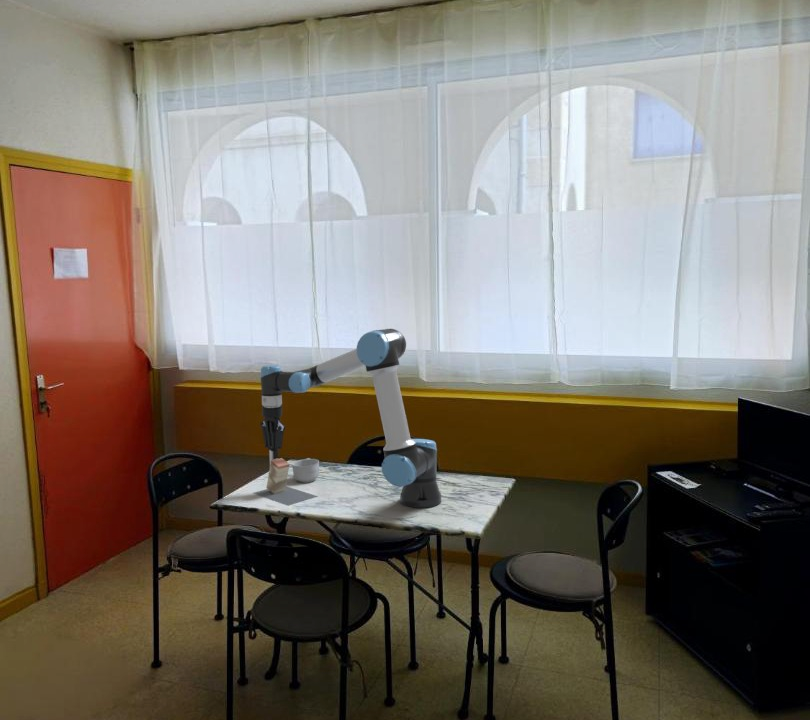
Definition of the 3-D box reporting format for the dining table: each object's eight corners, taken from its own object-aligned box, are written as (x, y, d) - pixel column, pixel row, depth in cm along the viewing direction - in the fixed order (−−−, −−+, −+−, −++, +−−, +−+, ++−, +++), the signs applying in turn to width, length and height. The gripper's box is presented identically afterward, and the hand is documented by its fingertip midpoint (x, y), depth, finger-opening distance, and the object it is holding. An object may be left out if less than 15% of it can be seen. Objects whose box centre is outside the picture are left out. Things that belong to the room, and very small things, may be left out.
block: (284, 491, 262) (289, 463, 258) (273, 494, 258) (278, 466, 254) (276, 485, 265) (281, 457, 261) (266, 488, 261) (271, 460, 257)
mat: (318, 497, 255) (318, 496, 255) (288, 506, 245) (288, 505, 245) (282, 485, 270) (282, 484, 270) (252, 494, 260) (252, 493, 260)
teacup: (314, 485, 270) (314, 465, 270) (288, 484, 272) (288, 464, 271) (325, 475, 284) (324, 456, 283) (300, 474, 286) (299, 456, 285)
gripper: (253, 405, 260) (255, 465, 262) (274, 409, 251) (276, 471, 254) (269, 402, 265) (271, 461, 268) (290, 406, 256) (292, 467, 259)
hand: (273, 466), depth 261 cm, fingers closed
